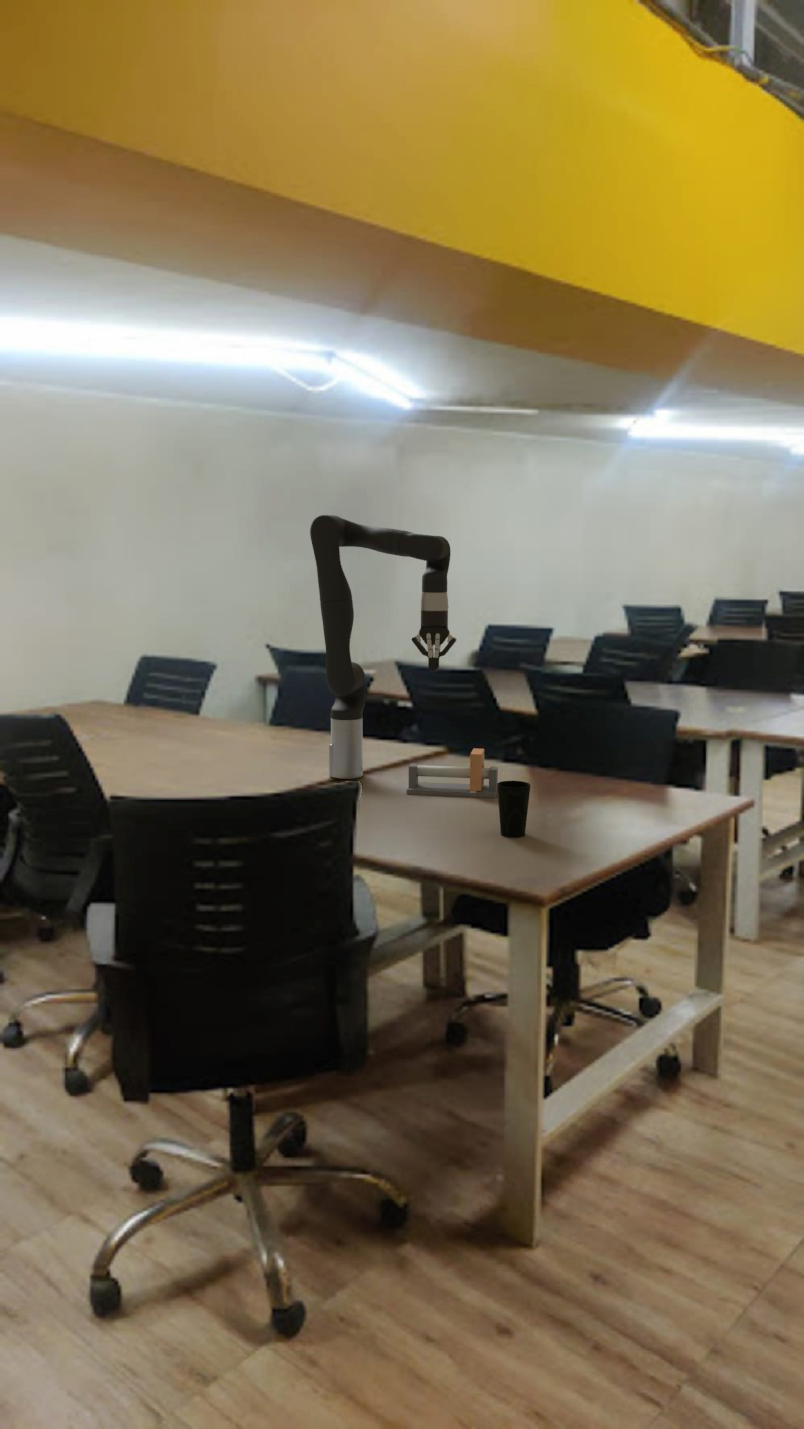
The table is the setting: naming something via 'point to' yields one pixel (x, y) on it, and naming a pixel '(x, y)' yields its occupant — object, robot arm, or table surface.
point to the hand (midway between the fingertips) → (433, 670)
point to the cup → (513, 807)
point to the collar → (476, 769)
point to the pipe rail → (450, 788)
